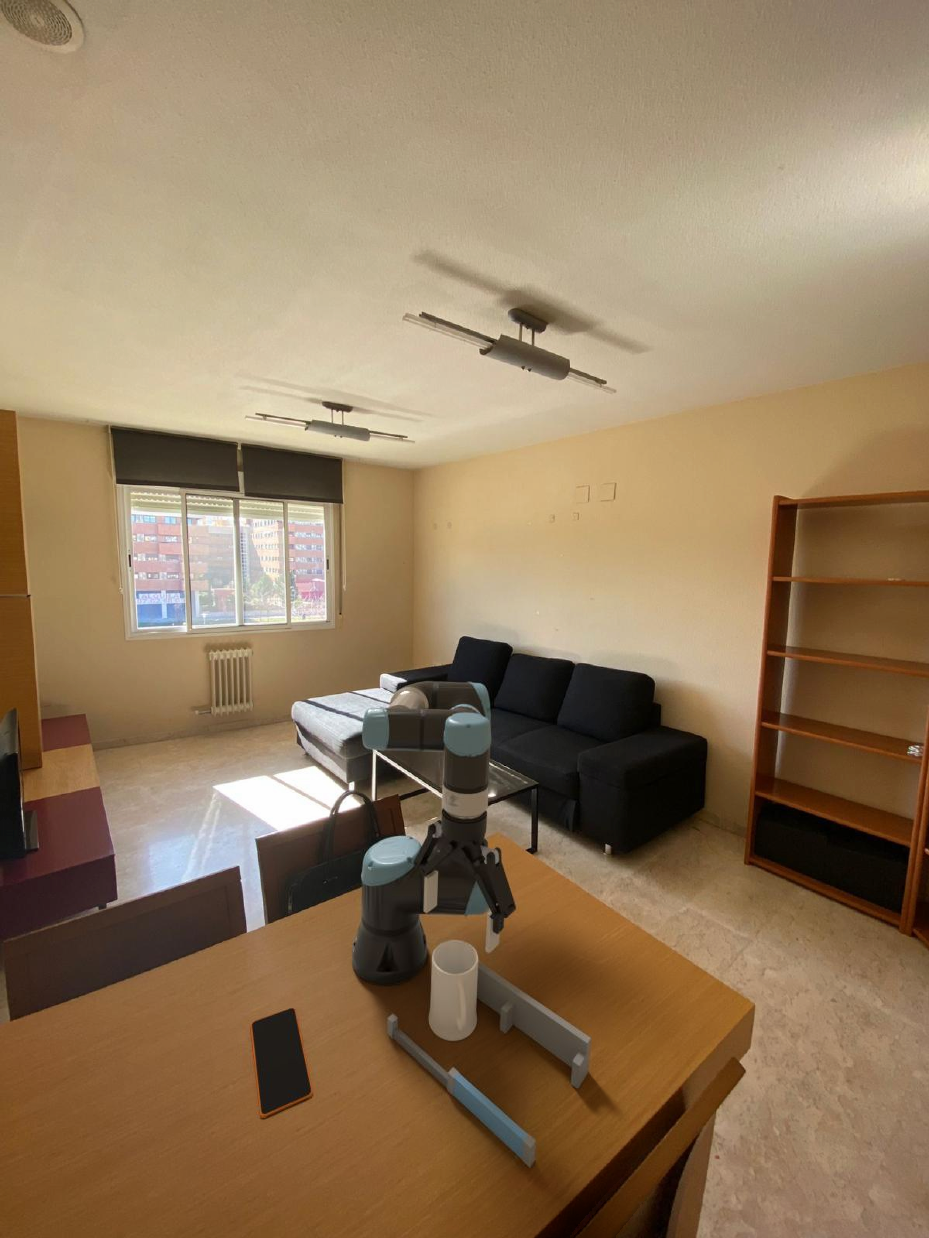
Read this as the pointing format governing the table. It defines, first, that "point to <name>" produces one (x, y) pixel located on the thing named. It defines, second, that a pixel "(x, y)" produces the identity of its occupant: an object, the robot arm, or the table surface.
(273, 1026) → the smartphone
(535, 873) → the table surface
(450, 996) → the mug
